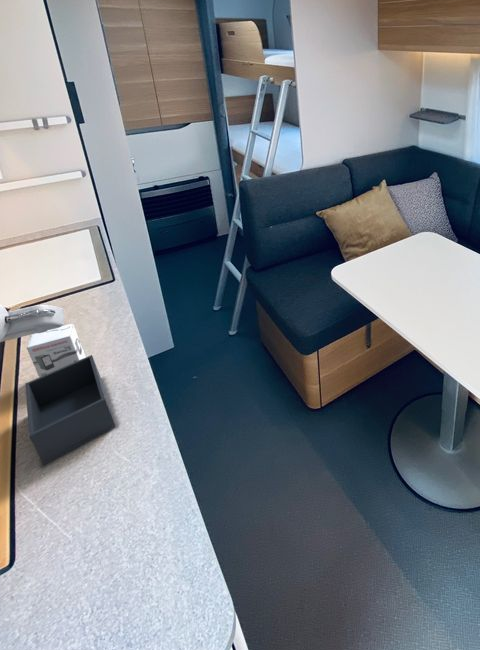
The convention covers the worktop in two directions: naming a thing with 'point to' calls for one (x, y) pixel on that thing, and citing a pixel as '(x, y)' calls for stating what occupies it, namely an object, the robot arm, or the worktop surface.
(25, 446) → the worktop surface
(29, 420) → the bin
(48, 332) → the ink box
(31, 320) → the robot arm
